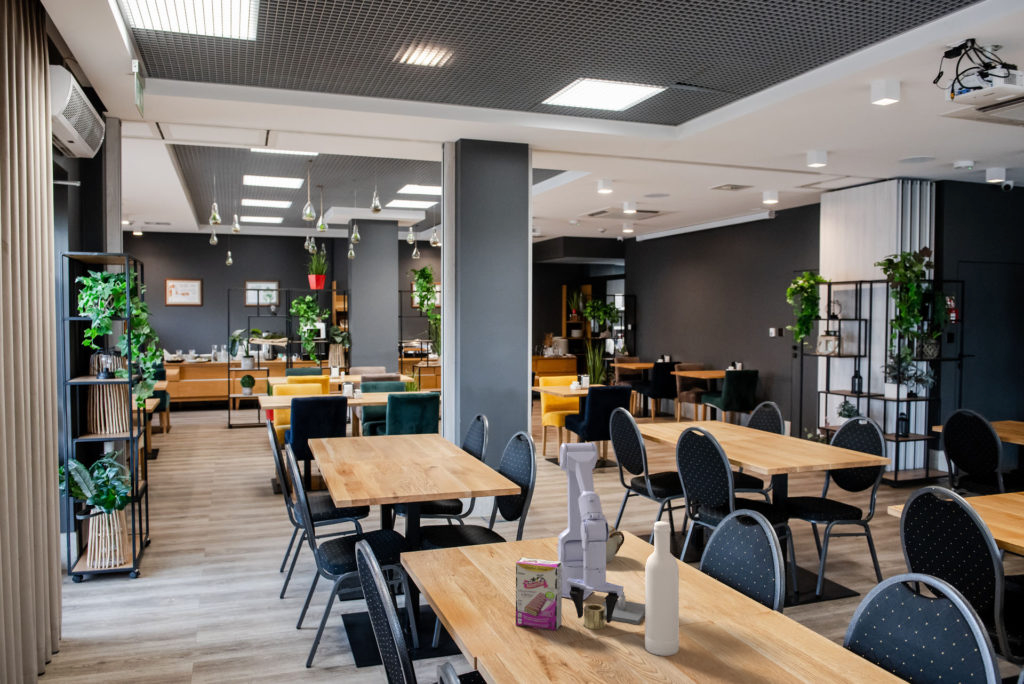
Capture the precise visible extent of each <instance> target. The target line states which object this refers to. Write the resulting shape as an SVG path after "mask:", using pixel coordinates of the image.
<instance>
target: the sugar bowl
mask: <svg viewBox="0 0 1024 684" xmlns="http://www.w3.org/2000/svg"><path fill="white" fill-rule="evenodd" d="M608 526H609V539H608V541H606V540H605V542H606V564H607V563H610V562H612V561H613V560H614V558H615V557H616V556H617V554H618V552H619V551H620V549H621V547H622V545H623V544H624V542H625V536H624V533H623V531H621V530H617V529H616V528H615V527H614V526H611V525H609V524H608Z"/></svg>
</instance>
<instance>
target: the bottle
mask: <svg viewBox="0 0 1024 684" xmlns="http://www.w3.org/2000/svg"><path fill="white" fill-rule="evenodd" d="M653 525H654V526H653V531H654V532H653V536H654V537H653V542H654V543H653V548H654V549H653V550H654V551H653V552H652V553H651V554H650V555H649V556H648V557H647V559H646V563H645V567H644V568H645V569H644V570H645V572H644V573H645V574H644V577H645V579H644V583H645V584H644V586H645V587H644V589H645V591H644V594H645V595H644V596H645V597H644V598H645V599H644V600H645V601H644V602H645V603H644V604H645V616H644V622H645V623H644V626H645V627H644V648H645V650H646V651H647V652H648V653H650V654H653V655H655V656H663V657H667V656H673V655H676V654H677V653H678V652H679V650H680V649H679V648H680V647H679V645H680V637H679V635H680V631H679V629H680V627H679V626H680V625H679V622H680V618H679V617H680V614H679V613H680V612H679V611H680V602H679V601H680V599H679V598H680V597H679V595H680V568H679V564H678V561H677V559H676V557H675V556H674V555H673V554H672V553H671V530H672V529H671V524H670V523H669V522H668V521H662V520H661V521H660V520H659V521H658V520H657V521H655V522H654V524H653Z"/></svg>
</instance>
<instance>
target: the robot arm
mask: <svg viewBox="0 0 1024 684" xmlns="http://www.w3.org/2000/svg"><path fill="white" fill-rule="evenodd" d="M598 455H599V454H598V448H597V445H596V443H595V442H594V441H592V442H571V443H570V442H568V443H566V442H562V443H561V445H560V447H559V469H560V470H561V471H564V472H565V474H566V485H567V486H566V487H567V488H566V489H567V492H566V493H567V497H566V498H567V528H565V529H564V530H563V531H561V533H560V534H558V538H557V545H556V547H557V548H556V549H557V550H556V551H557V552H556V553H557V557H558V560H557V562H562V598H569V599H572V601H573V604H574V606H575V609H576V614H577V619H581V618H582V617H584V601H585V600H586V599H588V597H590V595H591V594H592V593H593V592H596V593H597V592H599V593H604V594H607V595H606V596H605V597H604V601H605V600H606V608H607V615H606V619H605V622H606V623H607V624H610V623H611V622H612V621H613V620H612V615H613V611H614V607H615V605H616V602H617V600H619V596H622V595H623V592H624V586H623V585H617V584H615V583H612V582H608V581H607V563H606V542H605V540H606V541H608V539H609V526H610V525H609V522H608V519H607V518H606V515H605V514H604V513H603V508H602V502H601V498H600V495H598V494H597V493H596V492H595V487H594V486H595V485H594V474H593V470H594V469H595V468H596V463H597V462H598ZM608 525H609V526H608Z"/></svg>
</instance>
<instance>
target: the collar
mask: <svg viewBox="0 0 1024 684" xmlns="http://www.w3.org/2000/svg"><path fill="white" fill-rule="evenodd" d="M583 620H584V621H583V625H584V627H586V628H588V629H591V630H600V629H604V628H605V627H606V619H605V607H604V606H602V604H598V603H588V604H586V605H585V606H583Z"/></svg>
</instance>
